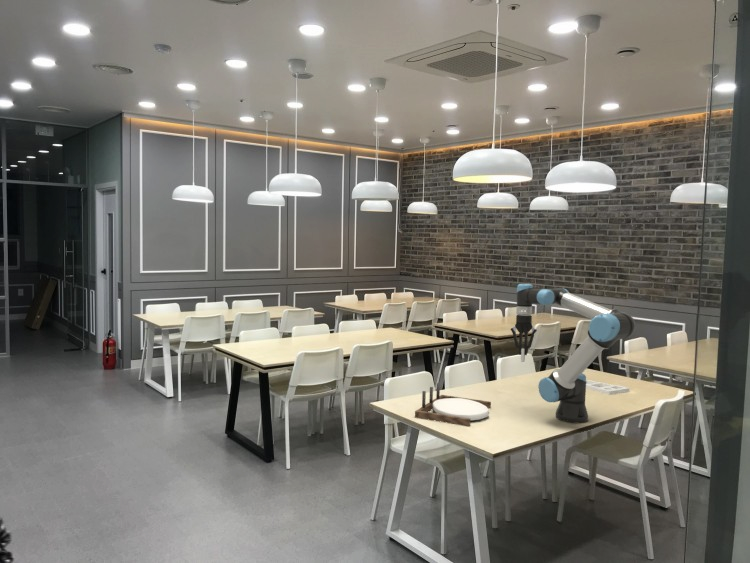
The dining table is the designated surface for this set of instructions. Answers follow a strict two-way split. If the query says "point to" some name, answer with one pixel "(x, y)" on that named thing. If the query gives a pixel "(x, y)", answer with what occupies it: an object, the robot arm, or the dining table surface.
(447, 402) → the plate
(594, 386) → the holder
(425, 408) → the plate rack
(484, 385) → the dining table surface
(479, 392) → the dining table surface
